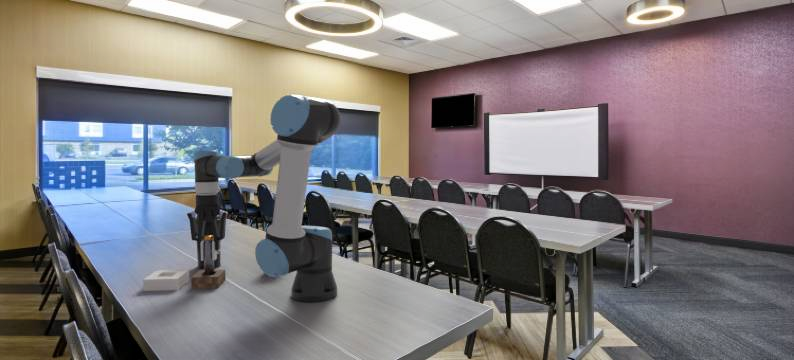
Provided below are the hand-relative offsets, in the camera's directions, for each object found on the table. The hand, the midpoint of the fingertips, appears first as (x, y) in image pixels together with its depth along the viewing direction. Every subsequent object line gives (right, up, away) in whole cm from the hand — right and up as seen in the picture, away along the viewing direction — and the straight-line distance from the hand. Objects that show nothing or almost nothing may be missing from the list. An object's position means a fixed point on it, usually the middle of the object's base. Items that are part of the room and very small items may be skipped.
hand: (209, 259), depth 149 cm
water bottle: (-10, -7, +24) cm, 27 cm away
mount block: (0, -9, +1) cm, 9 cm away
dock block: (-14, -9, -1) cm, 17 cm away
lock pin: (0, -6, 0) cm, 6 cm away
